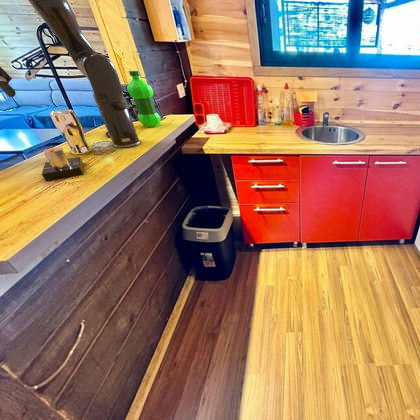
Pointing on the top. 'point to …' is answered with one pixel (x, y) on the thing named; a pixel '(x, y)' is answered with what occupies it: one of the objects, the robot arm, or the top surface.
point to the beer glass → (70, 130)
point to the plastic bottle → (143, 100)
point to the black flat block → (63, 170)
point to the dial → (56, 158)
